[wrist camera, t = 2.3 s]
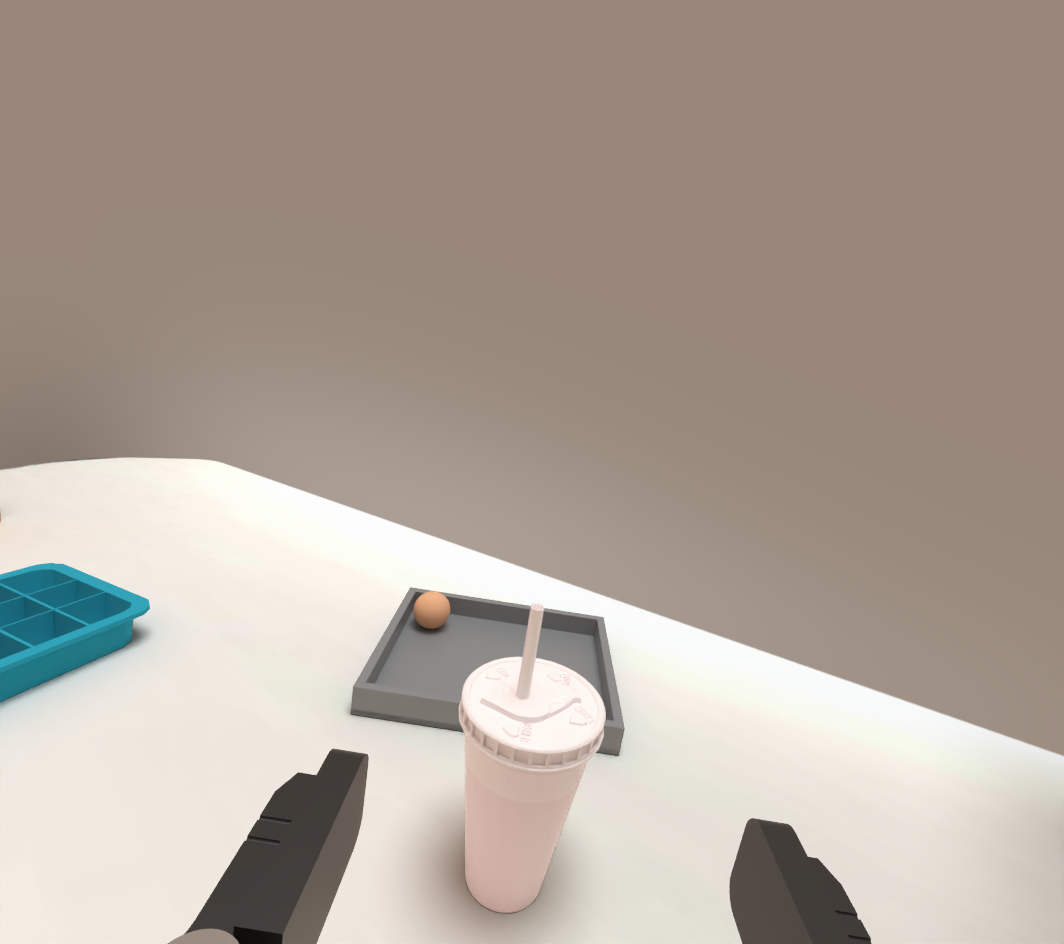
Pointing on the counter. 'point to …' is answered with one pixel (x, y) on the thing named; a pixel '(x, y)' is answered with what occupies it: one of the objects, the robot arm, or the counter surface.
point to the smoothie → (522, 767)
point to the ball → (431, 610)
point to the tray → (476, 660)
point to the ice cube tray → (59, 623)
